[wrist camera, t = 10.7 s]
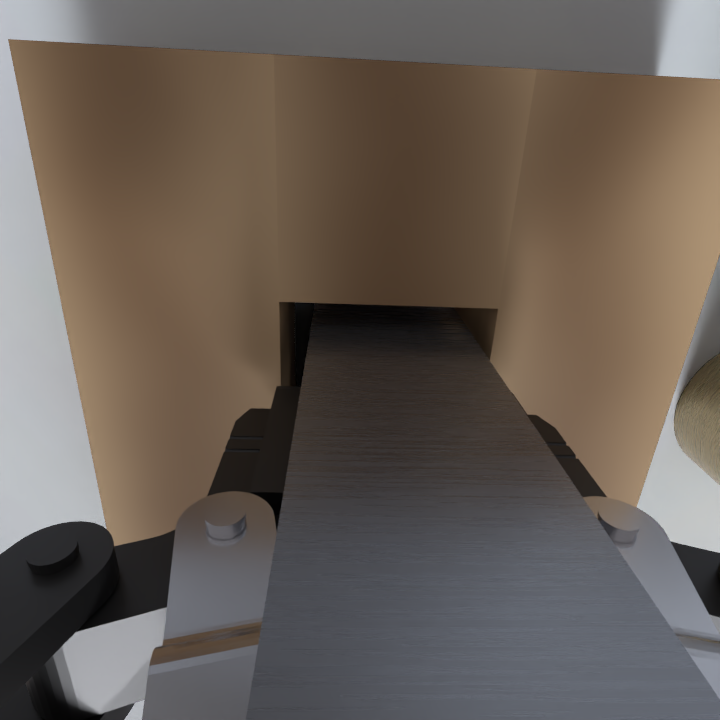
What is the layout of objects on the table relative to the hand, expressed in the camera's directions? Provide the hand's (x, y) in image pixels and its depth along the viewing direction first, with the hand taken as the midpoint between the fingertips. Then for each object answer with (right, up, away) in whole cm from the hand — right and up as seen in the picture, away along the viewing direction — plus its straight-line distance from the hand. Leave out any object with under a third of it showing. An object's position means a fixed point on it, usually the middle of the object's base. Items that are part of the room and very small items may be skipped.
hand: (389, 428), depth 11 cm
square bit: (0, +1, +3) cm, 3 cm away
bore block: (0, +2, +5) cm, 5 cm away
